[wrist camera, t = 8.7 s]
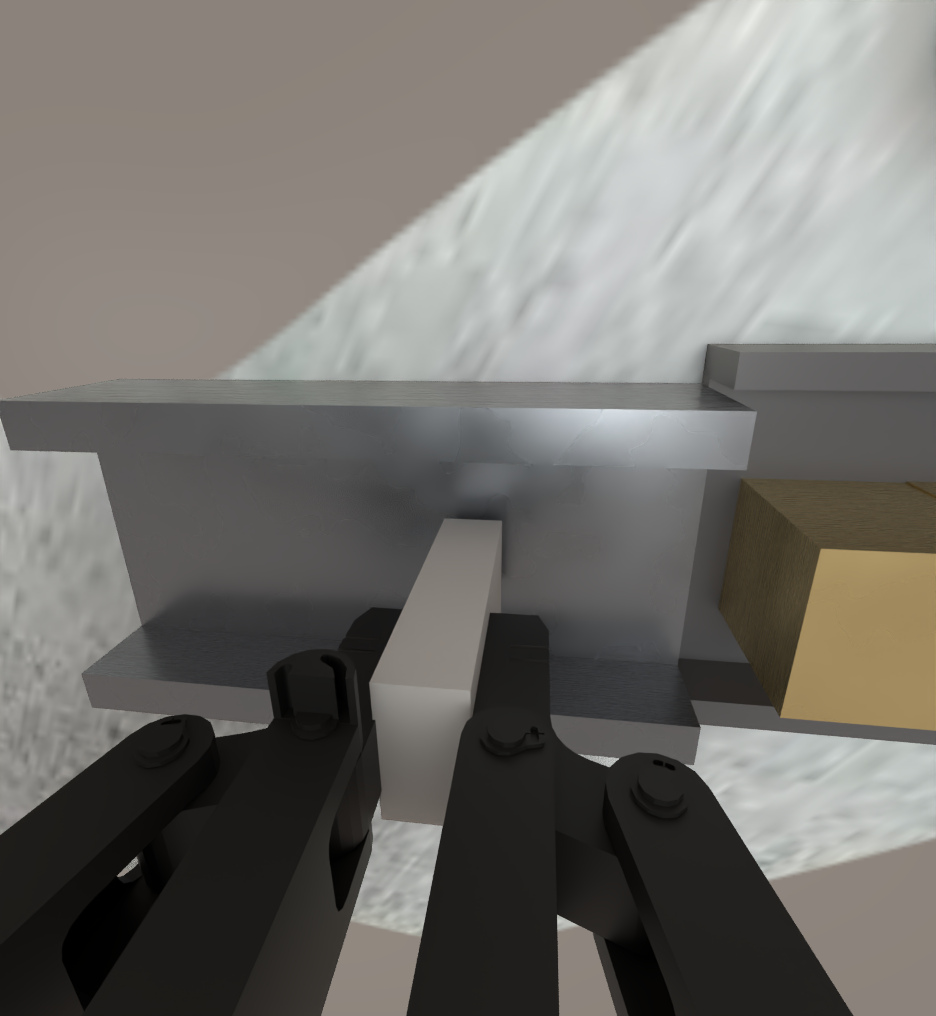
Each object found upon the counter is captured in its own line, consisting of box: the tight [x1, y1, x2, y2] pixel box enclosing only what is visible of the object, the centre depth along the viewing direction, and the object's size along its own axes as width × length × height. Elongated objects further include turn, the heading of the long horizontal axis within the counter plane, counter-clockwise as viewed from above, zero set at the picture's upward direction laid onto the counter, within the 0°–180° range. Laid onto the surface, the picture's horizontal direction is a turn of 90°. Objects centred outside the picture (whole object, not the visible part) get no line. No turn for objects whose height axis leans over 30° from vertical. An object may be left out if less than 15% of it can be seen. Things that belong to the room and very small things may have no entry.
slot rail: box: [0, 379, 757, 765], centre depth 15 cm, size 17×9×4 cm, turn 90°
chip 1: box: [718, 478, 936, 731], centre depth 13 cm, size 4×4×4 cm
